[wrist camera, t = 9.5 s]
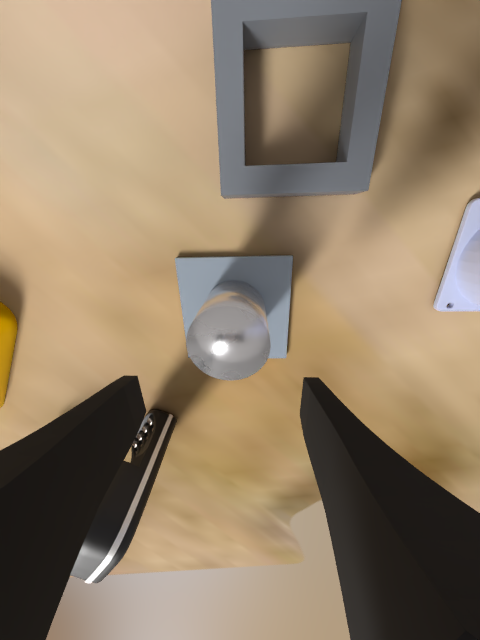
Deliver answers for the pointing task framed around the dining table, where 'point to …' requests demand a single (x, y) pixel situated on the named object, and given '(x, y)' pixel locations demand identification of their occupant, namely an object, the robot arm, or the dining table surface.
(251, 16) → the frame
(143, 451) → the battery charger
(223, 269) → the mat
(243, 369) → the shiny metal cylinder
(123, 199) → the dining table surface
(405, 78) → the dining table surface
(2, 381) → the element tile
